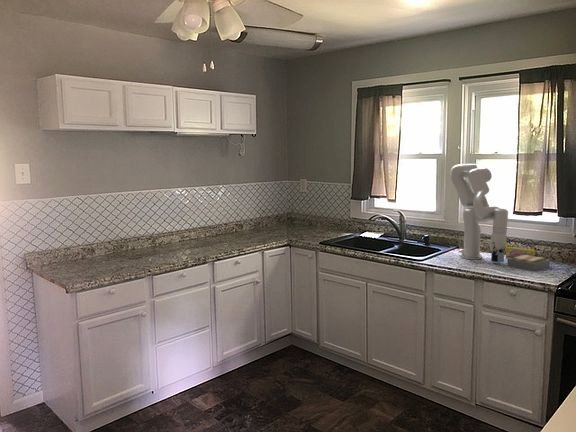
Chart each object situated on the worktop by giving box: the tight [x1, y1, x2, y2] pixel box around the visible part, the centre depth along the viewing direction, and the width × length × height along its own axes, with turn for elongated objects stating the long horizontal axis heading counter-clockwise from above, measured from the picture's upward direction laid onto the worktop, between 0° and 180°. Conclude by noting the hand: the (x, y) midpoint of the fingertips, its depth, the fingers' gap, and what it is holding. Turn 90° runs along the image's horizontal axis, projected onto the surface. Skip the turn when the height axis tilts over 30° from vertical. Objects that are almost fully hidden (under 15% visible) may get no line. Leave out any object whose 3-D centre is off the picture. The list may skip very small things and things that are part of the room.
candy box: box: [505, 246, 536, 260], centre depth 297 cm, size 16×2×8 cm, turn 47°
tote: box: [507, 258, 551, 272], centre depth 281 cm, size 16×16×5 cm
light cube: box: [490, 251, 505, 264], centre depth 288 cm, size 5×5×5 cm
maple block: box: [513, 255, 546, 263], centre depth 280 cm, size 12×12×5 cm
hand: (497, 260), depth 289 cm, fingers closed on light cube, 4 cm apart
